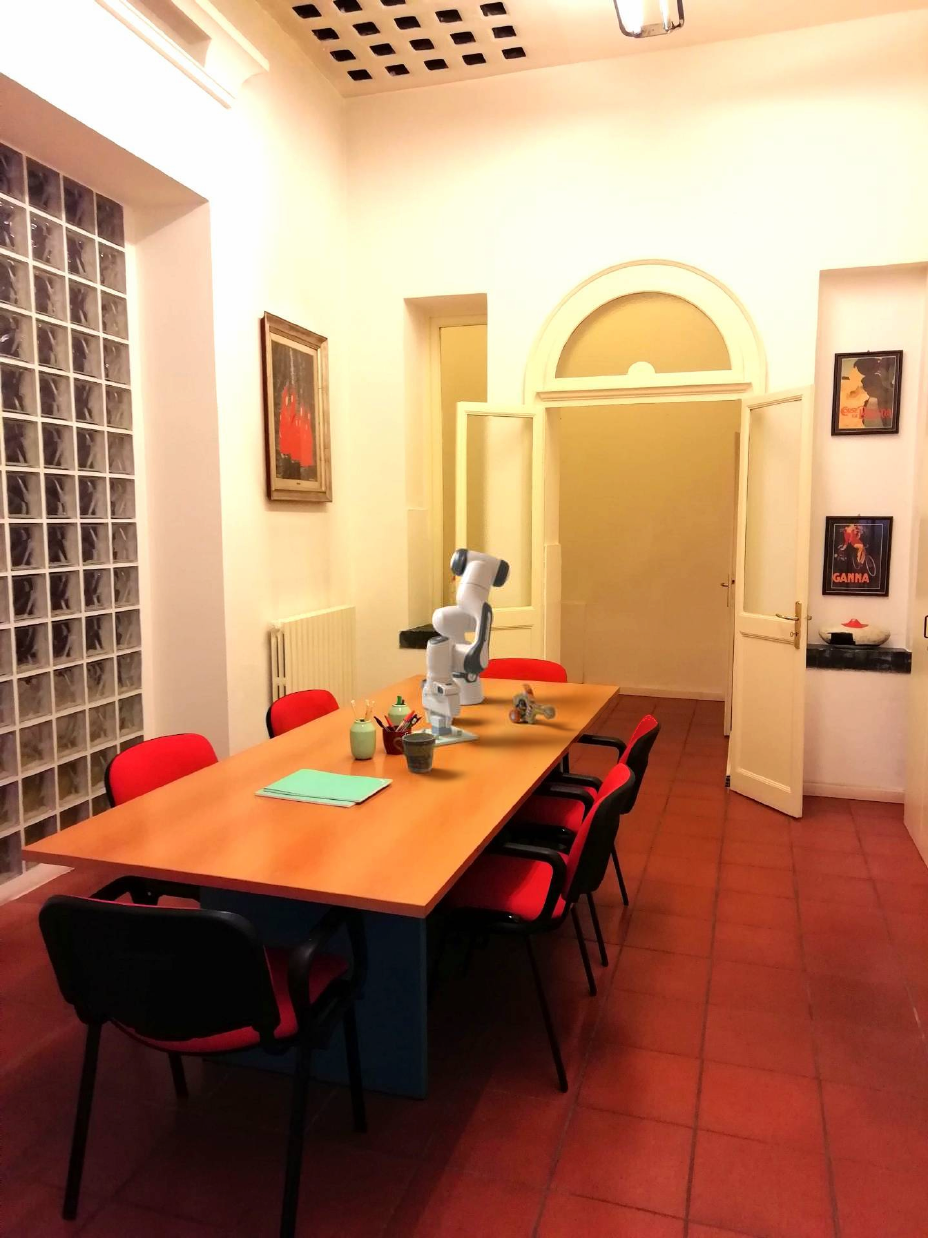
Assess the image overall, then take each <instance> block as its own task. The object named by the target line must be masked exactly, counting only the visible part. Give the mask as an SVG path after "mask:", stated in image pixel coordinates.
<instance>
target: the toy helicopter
mask: <svg viewBox="0 0 928 1238" xmlns="http://www.w3.org/2000/svg"><path fill="white" fill-rule="evenodd" d="M522 687H523V689H524V690H523V692H520V693H516V694H515V695H514V696H513V699H512V705H513V707H512V708H513V709H510V710H509V712H508V718H509V720H510V722H512V723H513V724H516V723H519V722H520V721H521V720H522V721H523V722H527V723H528V724H529V725H532V724H536V717H537V715H539V716H543V717H544V718H545V719H547V720H552V719H554V718H555V717H556V710H555V708H554V706H553V705H551V704H549V705H545V706H544V705H542V704H538V703H536V697H535V695H534V692H533V689H532V687H531V685H530V684H529V683H522Z"/></svg>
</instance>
